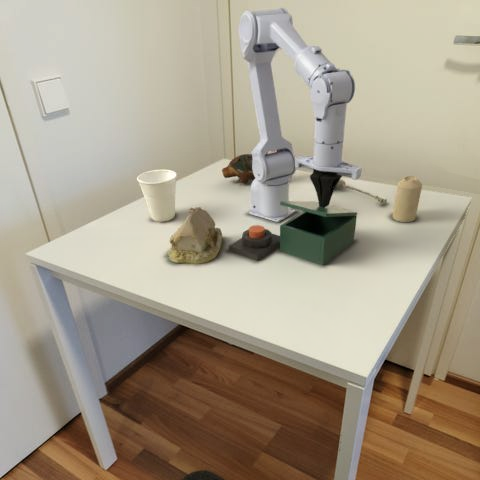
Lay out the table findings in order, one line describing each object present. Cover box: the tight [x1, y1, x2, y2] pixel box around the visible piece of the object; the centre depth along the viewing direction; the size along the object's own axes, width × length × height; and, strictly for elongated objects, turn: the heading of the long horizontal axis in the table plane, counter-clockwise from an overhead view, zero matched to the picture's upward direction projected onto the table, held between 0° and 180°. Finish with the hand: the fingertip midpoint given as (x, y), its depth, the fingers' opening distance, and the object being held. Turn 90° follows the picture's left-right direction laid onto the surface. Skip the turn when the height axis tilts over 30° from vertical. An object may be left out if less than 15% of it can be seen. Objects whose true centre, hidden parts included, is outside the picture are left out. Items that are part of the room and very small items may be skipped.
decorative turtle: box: [221, 153, 255, 185], centre depth 135 cm, size 10×15×8 cm, turn 101°
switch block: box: [228, 228, 280, 262], centre depth 102 cm, size 8×10×3 cm
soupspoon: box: [336, 179, 388, 206], centre depth 125 cm, size 22×3×7 cm
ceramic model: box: [167, 206, 223, 265], centre depth 100 cm, size 14×11×10 cm
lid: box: [280, 200, 358, 217], centre depth 97 cm, size 14×11×1 cm
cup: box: [136, 169, 178, 223], centre depth 115 cm, size 10×10×11 cm
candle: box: [392, 175, 423, 223], centre depth 109 cm, size 6×6×10 cm
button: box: [248, 224, 266, 239], centre depth 101 cm, size 4×4×2 cm
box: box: [279, 211, 358, 267], centre depth 100 cm, size 14×11×6 cm
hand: (324, 205), depth 98 cm, fingers closed
